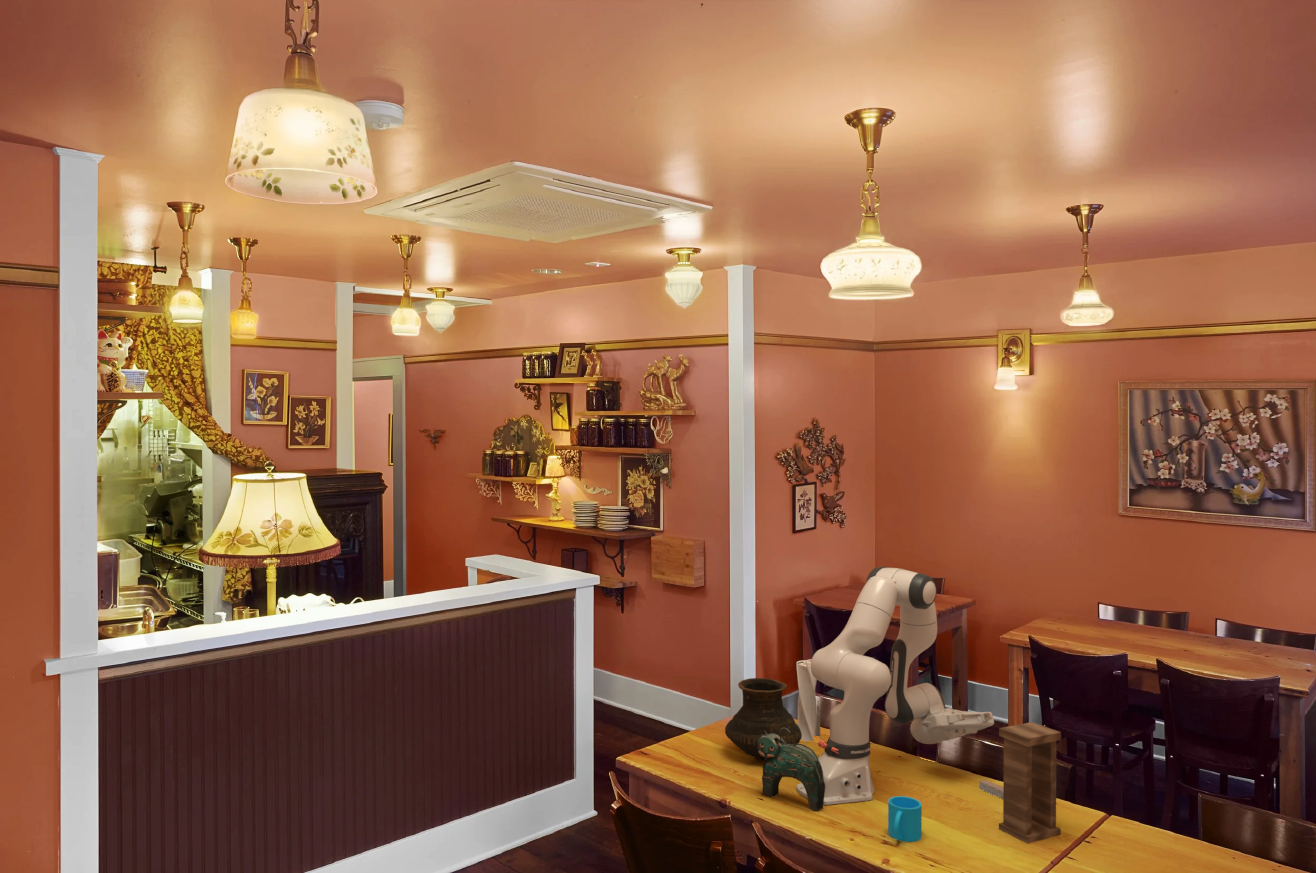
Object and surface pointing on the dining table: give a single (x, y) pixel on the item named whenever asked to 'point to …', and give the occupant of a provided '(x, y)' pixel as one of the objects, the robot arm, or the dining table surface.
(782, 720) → the ceramic pot
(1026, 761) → the shelf stand
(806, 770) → the ceramic cat
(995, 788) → the crank handle
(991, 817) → the dining table surface
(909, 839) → the mug
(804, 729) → the skyscraper
